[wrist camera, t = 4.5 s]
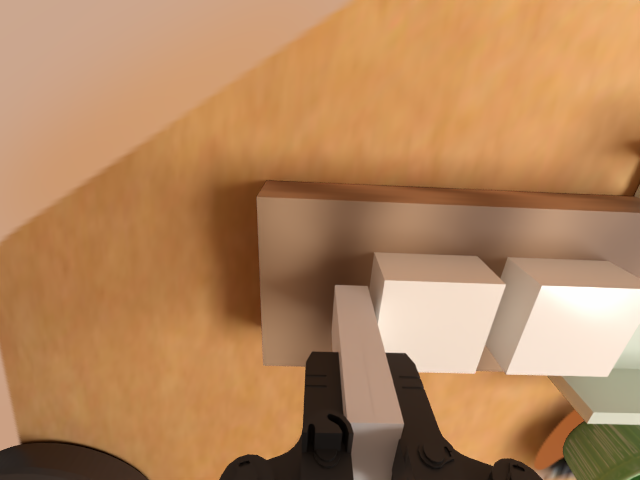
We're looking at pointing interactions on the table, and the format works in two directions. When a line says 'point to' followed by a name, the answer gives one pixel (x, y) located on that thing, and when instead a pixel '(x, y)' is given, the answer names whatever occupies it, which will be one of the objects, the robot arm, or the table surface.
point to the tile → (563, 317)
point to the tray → (608, 388)
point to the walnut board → (412, 244)
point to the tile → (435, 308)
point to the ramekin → (604, 451)
